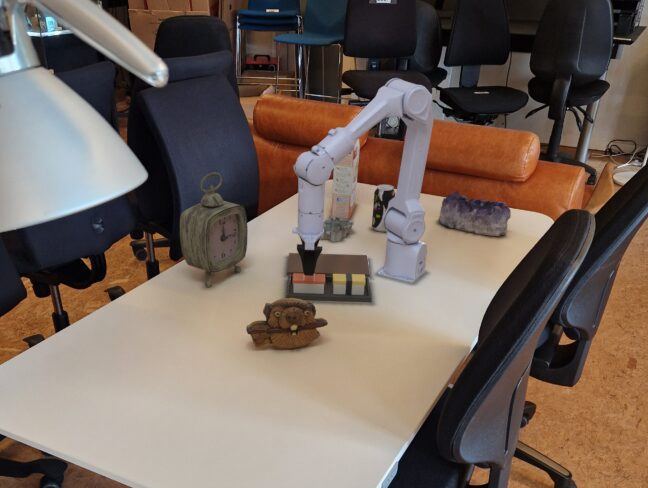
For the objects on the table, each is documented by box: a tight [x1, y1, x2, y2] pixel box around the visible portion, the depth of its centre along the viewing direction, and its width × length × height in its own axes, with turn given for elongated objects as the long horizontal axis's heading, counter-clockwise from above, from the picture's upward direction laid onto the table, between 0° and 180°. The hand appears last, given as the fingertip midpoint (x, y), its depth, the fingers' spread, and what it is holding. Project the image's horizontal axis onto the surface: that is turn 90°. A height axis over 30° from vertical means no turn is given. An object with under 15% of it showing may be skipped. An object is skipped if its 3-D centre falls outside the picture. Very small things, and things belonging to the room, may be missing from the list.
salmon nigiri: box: [293, 273, 325, 294], centre depth 167 cm, size 7×4×3 cm, turn 87°
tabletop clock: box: [179, 172, 249, 288], centre depth 167 cm, size 14×9×25 cm, turn 143°
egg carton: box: [320, 215, 355, 243], centre depth 198 cm, size 11×8×4 cm
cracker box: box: [330, 136, 362, 220], centre depth 209 cm, size 14×6×21 cm, turn 168°
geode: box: [437, 190, 512, 237], centre depth 201 cm, size 20×12×10 cm, turn 64°
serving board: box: [286, 252, 371, 279], centre depth 179 cm, size 20×12×1 cm, turn 87°
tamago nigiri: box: [333, 273, 366, 295], centre depth 167 cm, size 7×4×4 cm, turn 87°
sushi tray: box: [285, 275, 372, 303], centre depth 168 cm, size 19×11×2 cm, turn 87°
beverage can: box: [371, 183, 396, 233], centre depth 199 cm, size 6×6×12 cm
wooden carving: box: [245, 297, 329, 349], centre depth 144 cm, size 16×5×10 cm, turn 105°
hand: (309, 268), depth 165 cm, fingers open, 7 cm apart
